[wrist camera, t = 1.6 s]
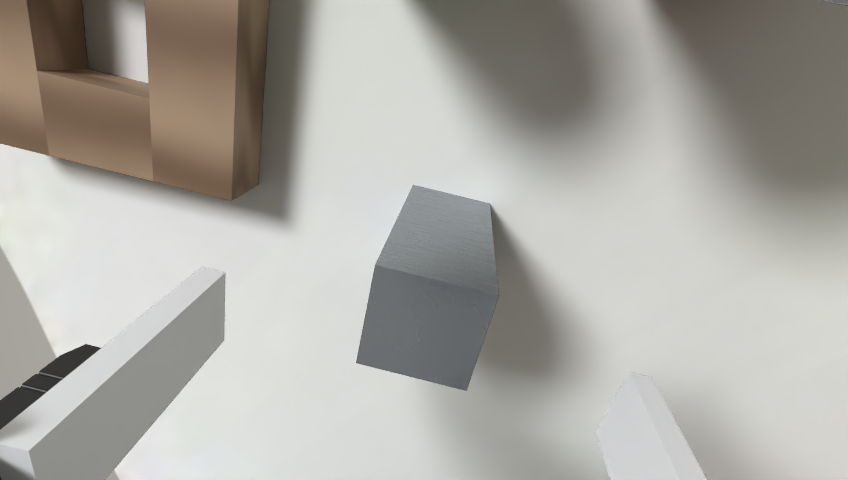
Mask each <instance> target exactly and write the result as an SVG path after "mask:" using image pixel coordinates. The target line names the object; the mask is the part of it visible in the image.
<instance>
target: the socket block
mask: <svg viewBox="0 0 848 480" xmlns="http://www.w3.org/2000/svg"><path fill="white" fill-rule="evenodd" d="M145 14H146V35H147V57H148V79H149V84H148V83H144V82H140V81H136V80H132V79H128V78H124V77H119V76H115V75H111V74H107V73H103V72H99V71H95V70H91V69H88V62H87V52H86V42H85V32H84V22H83V12H82V2H81V0H0V144H4V145H9V146H13V147H17V148H21V149H25V150H29V151H33V152H37V153H41V154H45V155H49V156H53V157H57V158H61V159H65V160H69V161H73V162H77V163H81V164H85V165H89V166H94V167H98V168H102V169H106V170H110V171H114V172H118V173H122V174H126V175H130V176H134V177H138V178H142V179H146V180H150V181H154V182H158V183H162V184H166V185H170V186H174V187H179V188H183V189H187V190H191V191H195V192H199V193H203V194H207V195H211V196H215V197H219V198H223V199H227V200H231V201H232V200H233V199H235V198H237V197H238V196H240V195H242V194H243V193H245V192H247V191H248V190H250V189H252V188H253V187H255V186H257V185H258V180H259V163H260V147H261V130H262V114H263V97H264V80H265V64H266V47H267V31H268V14H269V0H145Z"/></svg>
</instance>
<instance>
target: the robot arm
mask: <svg viewBox="0 0 848 480" xmlns="http://www.w3.org/2000/svg"><path fill="white" fill-rule="evenodd" d="M224 321H225V272H222V271H218V270H214V269H210V268H206V267H201V268H200V269H198V270H197V271H196V272H195V273H193V274H192V275H191V276H190V277H189V278H187V279H186V280H185V281H184V282H182V283H181V284H180V285H179V286H177V287H176V288H175V289H174V290H172V291H171V292H170V293H169V294H168V295H166V296H165V297H164V298H163V299H161V300H160V301H159V302H158V303H156V304H155V305H154V306H153V307H151V308H150V309H149V310H148V311H147V312H145V313H144V314H143V315H142V316H140V317H139V318H138V319H137V320H135V321H134V322H133V323H132V324H130V325H129V326H128V327H127V328H126V329H124V330H123V331H122V332H121V333H119V334H118V335H117V336H116V337H114V338H113V339H112V340H111V341H109V342H108V343H107V344H106V345H104V346H103V347H102V348H99V347H95V346H91V345H87V344H85V345H83V346H81V347H79V348H76V349H74V350H72V351H69V352H67V353H65V354H63V355H60V356H59V357H58V358H56V359H55V360H54V361H53V362H51V363H50V364H48V365H47V366H46V367H45V368H43V369H42V370H41V371H40V372H39V374H35V375H34V376H32V377H31V378H30V379H28V380H27V381H26V382H24V383H23V384H22V386H21V387H20V388H19V387H18V388H16V389H15V390H14V391H12V392H11V393H10V394H8V395H7V396H6V397H4V398H3V399H2V400H0V480H105V479H106V478H107V477H108V476H109V475H110V473H111V472H112V471H113V470H114V469H115V468H116V467H117V465H118V464H119V463H120V462H121V461H122V459H123V458H124V457H125V456H126V455H127V454H128V452H129V451H130V450H131V449H132V448H133V447H134V445H135V444H136V443H137V442H138V441H139V440H140V438H141V437H142V436H143V435H144V434H145V432H146V431H147V430H148V429H149V428H150V427H151V425H152V424H153V423H154V422H155V421H156V420H157V418H158V417H159V416H160V415H161V414H162V413H163V411H164V410H165V409H166V408H167V407H168V405H169V404H170V403H171V402H172V401H173V400H174V398H175V397H176V396H177V395H178V394H179V393H180V391H181V390H182V389H183V388H184V387H185V386H186V384H187V383H188V382H189V381H190V380H191V378H192V377H193V376H194V375H195V374H196V373H197V371H198V370H199V369H200V368H201V367H202V366H203V364H204V363H205V362H206V361H207V360H208V359H209V357H210V356H211V355H212V354H213V353H214V351H215V350H216V349H217V348H218V347H219V346H220V344H221V343H222V342H223V341H224ZM595 433H596V436H597V439H598V442H599V446H600V449H601V452H602V455H603V458H604V462H605V465H606V468H607V471H608V475H609V478H610V480H707V479H706V477H705V475H704V473H703V471H702V469H701V468H700V466H699V464H698V462H697V460H696V458H695V456H694V454H693V453H692V451H691V449H690V447H689V445H688V443H687V441H686V439H685V438H684V436H683V434H682V432H681V430H680V428H679V426H678V424H677V423H676V421H675V419H674V417H673V415H672V413H671V411H670V410H669V408H668V406H667V404H666V402H665V400H664V398H663V396H662V395H661V393H660V391H659V389H658V387H657V385H656V383H655V381H654V380H653V378H652V377H648V376H644V375H640V374H636V373H632V372H628V374H627V376H626V378H625V380H624V381H623V383H622V385H621V387H620V389H619V390H618V392H617V394H616V396H615V398H614V399H613V401H612V403H611V405H610V407H609V409H608V410H607V412H606V414H605V416H604V418H603V419H602V421H601V423H600V425H599V427H598V428H597V430H596V432H595Z"/></svg>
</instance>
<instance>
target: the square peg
mask: <svg viewBox="0 0 848 480" xmlns="http://www.w3.org/2000/svg"><path fill="white" fill-rule="evenodd" d="M498 297H499V290H498V280H497V270H496V260H495V250H494V240H493V230H492V220H491V210H490V204H489V203H485V202H481V201H477V200H473V199H469V198H465V197H461V196H457V195H452V194H448V193H444V192H440V191H436V190H432V189H428V188H424V187H420V186H416V185H413V186H412V188H411V191H410V193H409V195H408V197H407V199H406V201H405V203H404V205H403V207H402V209H401V212H400V214H399V216H398V218H397V220H396V222H395V224H394V226H393V228H392V231H391V233H390V235H389V237H388V239H387V241H386V243H385V245H384V247H383V250H382V252H381V254H380V256H379V258H378V260H377V262H376V264H375V268H374V274H373V279H372V284H371V289H370V294H369V299H368V304H367V310H366V315H365V320H364V325H363V330H362V335H361V340H360V346H359V351H358V356H357V361H356V363H358V364H362V365H366V366H370V367H374V368H378V369H382V370H386V371H390V372H394V373H398V374H402V375H406V376H410V377H414V378H418V379H422V380H426V381H430V382H434V383H438V384H442V385H446V386H450V387H454V388H458V389H462V390H466V391H467V388H468V385H469V382H470V379H471V376H472V373H473V370H474V367H475V364H476V361H477V358H478V356H479V353H480V350H481V347H482V344H483V341H484V338H485V335H486V332H487V329H488V326H489V323H490V321H491V318H492V315H493V312H494V309H495V306H496V303H497V300H498Z"/></svg>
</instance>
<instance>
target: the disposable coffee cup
mask: <svg viewBox="0 0 848 480" xmlns="http://www.w3.org/2000/svg"><path fill="white" fill-rule="evenodd" d="M820 1H825V2H830V3H836V4H841V5H847V6H848V0H820Z"/></svg>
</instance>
